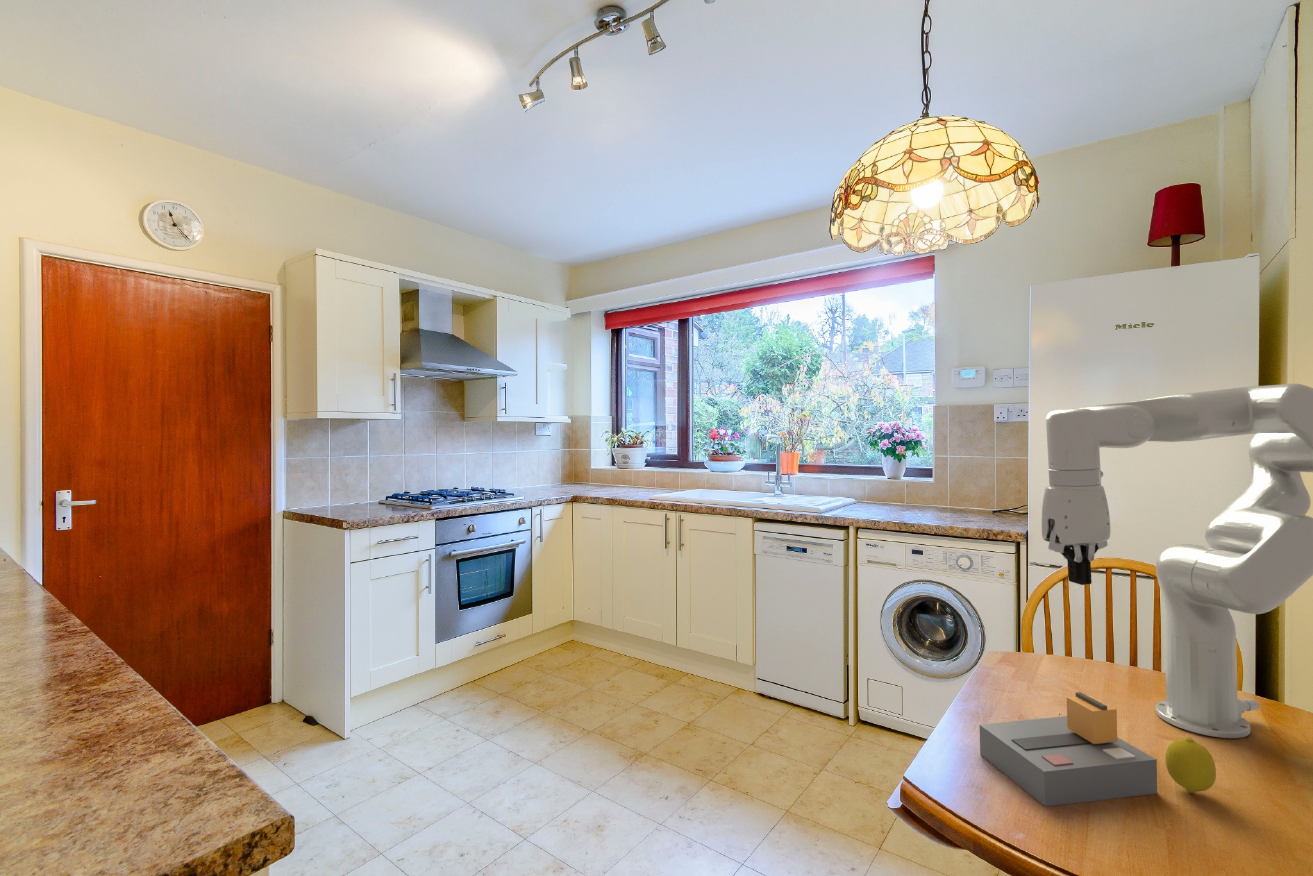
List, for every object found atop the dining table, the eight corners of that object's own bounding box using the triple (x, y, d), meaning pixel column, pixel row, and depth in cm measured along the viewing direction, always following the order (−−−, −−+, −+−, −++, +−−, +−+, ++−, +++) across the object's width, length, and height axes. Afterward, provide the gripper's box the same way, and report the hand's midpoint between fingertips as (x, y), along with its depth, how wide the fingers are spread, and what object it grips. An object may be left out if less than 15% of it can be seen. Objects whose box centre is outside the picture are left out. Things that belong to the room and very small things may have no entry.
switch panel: (1078, 744, 102) (1078, 713, 102) (1157, 793, 88) (1156, 758, 88) (980, 754, 99) (979, 723, 99) (1044, 806, 86) (1044, 770, 86)
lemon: (1156, 781, 91) (1155, 729, 91) (1193, 781, 90) (1192, 728, 90) (1187, 804, 85) (1186, 748, 85) (1227, 804, 85) (1226, 747, 85)
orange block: (1089, 725, 97) (1089, 691, 97) (1117, 741, 92) (1116, 705, 92) (1067, 728, 96) (1066, 693, 96) (1093, 744, 91) (1092, 707, 91)
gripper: (1093, 474, 111) (1098, 574, 111) (1020, 480, 108) (1025, 581, 109) (1131, 477, 103) (1136, 583, 103) (1054, 483, 101) (1059, 592, 101)
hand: (1079, 582), depth 106 cm, fingers closed
